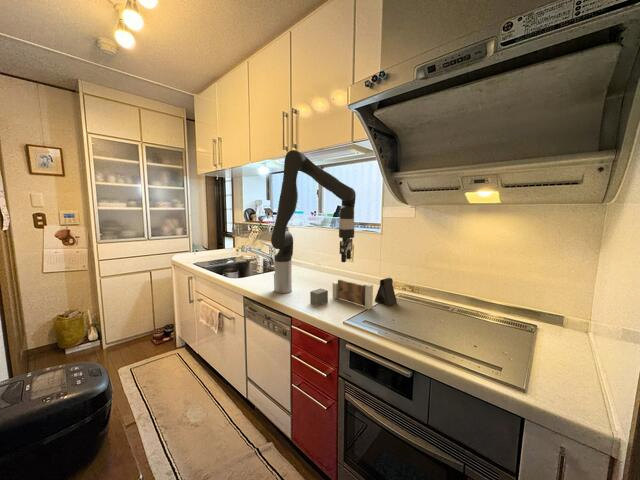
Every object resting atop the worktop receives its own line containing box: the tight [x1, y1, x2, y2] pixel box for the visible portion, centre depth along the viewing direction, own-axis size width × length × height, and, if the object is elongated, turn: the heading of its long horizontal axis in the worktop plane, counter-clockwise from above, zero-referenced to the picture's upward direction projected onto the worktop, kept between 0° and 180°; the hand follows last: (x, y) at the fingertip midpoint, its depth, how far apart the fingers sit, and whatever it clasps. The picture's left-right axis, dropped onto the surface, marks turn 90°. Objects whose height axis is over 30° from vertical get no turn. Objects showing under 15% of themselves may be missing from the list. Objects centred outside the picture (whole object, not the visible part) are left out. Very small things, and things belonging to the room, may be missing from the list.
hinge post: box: [364, 283, 374, 310], centre depth 118 cm, size 2×3×11 cm, turn 136°
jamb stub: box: [332, 281, 339, 300], centre depth 132 cm, size 2×2×8 cm
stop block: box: [309, 287, 329, 307], centre depth 125 cm, size 5×7×6 cm
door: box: [337, 278, 367, 307], centre depth 124 cm, size 17×2×10 cm, turn 46°
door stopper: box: [374, 277, 398, 307], centre depth 125 cm, size 9×6×12 cm, turn 37°
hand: (346, 260), depth 128 cm, fingers open, 8 cm apart
